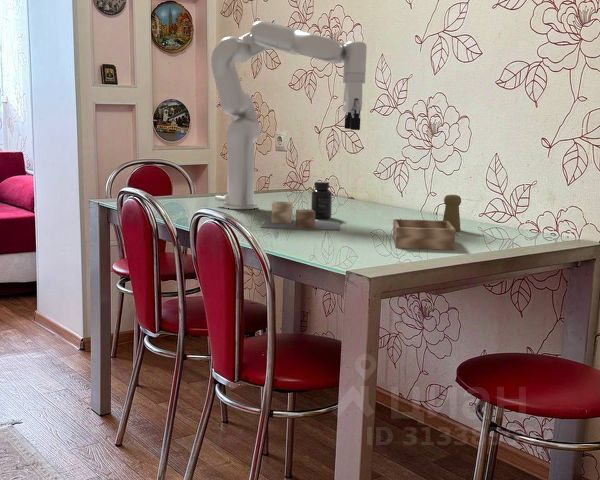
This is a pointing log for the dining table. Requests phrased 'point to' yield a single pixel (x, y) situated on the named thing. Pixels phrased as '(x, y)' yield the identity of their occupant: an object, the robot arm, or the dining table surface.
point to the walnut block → (305, 218)
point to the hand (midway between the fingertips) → (352, 129)
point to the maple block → (281, 212)
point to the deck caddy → (423, 234)
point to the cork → (452, 211)
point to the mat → (318, 226)
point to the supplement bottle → (321, 200)
